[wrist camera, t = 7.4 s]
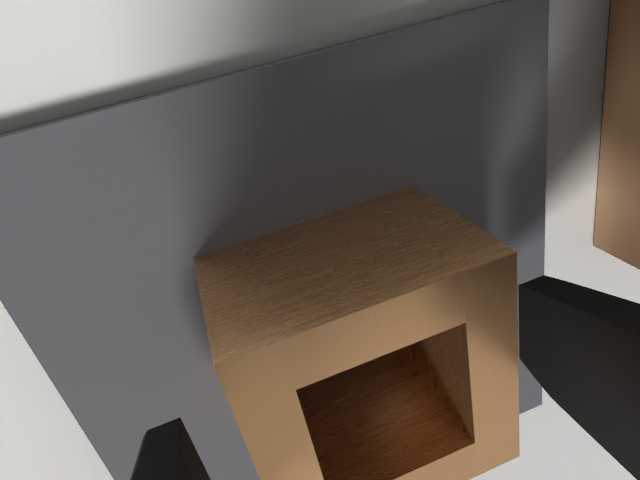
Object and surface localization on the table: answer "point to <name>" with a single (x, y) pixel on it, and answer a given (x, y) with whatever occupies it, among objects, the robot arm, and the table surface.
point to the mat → (254, 203)
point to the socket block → (620, 139)
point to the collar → (369, 343)
